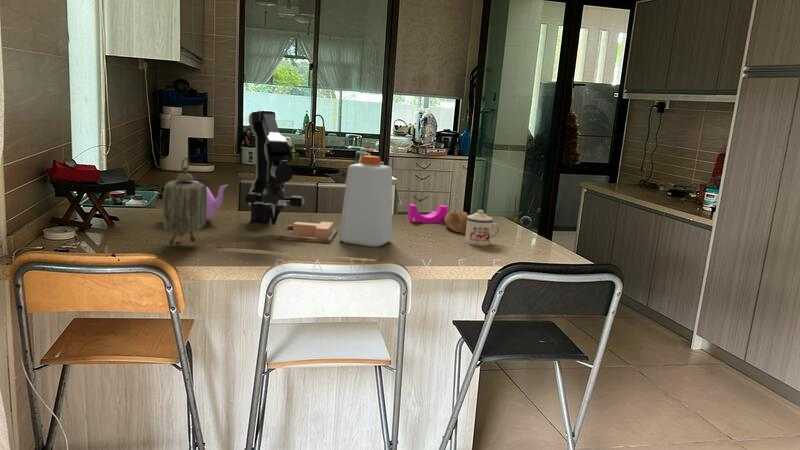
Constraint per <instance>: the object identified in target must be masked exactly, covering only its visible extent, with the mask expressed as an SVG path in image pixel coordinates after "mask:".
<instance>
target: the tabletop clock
mask: <svg viewBox="0 0 800 450" xmlns="http://www.w3.org/2000/svg"><path fill="white" fill-rule="evenodd" d="M185 161H186V163H187V165H186V166H184V164H185ZM189 168H190V159H189V158H188V157H184V158H183V159H182V160H181V171H182V173H179V174H177V176H176V178H175V180H170V181H169V182H167V183H166V184H165V185H164V187H163V201H162V214H163V215H162V216H163V217H162V219H163V220H162V221H163V222H162V223H163V230H164V231H165V232H174V233H173V236H172V238H171V239H168V244H169V246H172V245H174V244H175V239H176V237H179V238H183V237H184V236H185V233H189V235H190V238H189V241H190V242H191V243H194V242H196V237H195V236H194V235H193V234H194V232H197V231H199V230H200V229H203V227H204V226H205V225H206V224H207V220H206V213H207V188H206V187H207V186H206V185H205V184H203V183H202V182H199V181H198V182H191V181H195V178H194V176H193V175H192V174H191V173H188V171H189Z"/></svg>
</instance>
